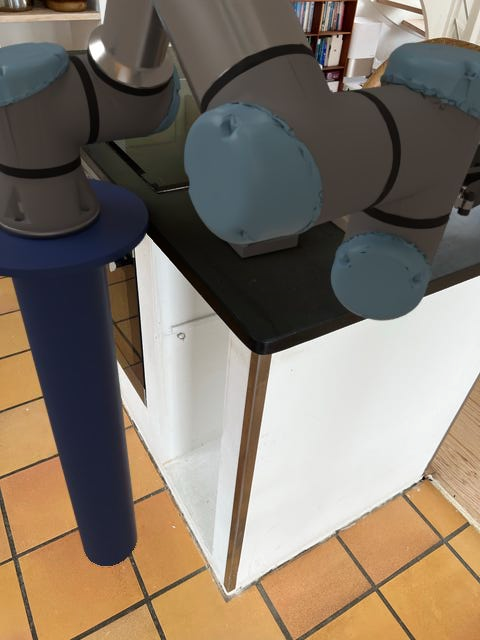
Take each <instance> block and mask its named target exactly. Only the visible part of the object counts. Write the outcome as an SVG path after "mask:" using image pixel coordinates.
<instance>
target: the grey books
mask: <svg viewBox="0 0 480 640" xmlns="http://www.w3.org/2000/svg"><path fill="white" fill-rule="evenodd" d="M299 235H300V234H292V235H289V236H281V237H277V238H272V239H268V240H264V241H259V242H254V243H249V244H234V243H230V242H227V243H228V244H229V246H230V247H231V248H232V249H233V250H234V252H236V253H237V254H238V255H239V257H241V258H242V259H244V258H249V257H253V256H258V255H264V254H267V253H273V252H277V251H281V250H286V249H290V248H294V247H297V246H298V243H299V237H300V236H299Z"/></svg>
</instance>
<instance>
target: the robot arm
mask: <svg viewBox="0 0 480 640" xmlns="http://www.w3.org/2000/svg"><path fill="white" fill-rule="evenodd" d="M169 47H171V49H172V51H173V53H174V55H175V57H176V60H177V62H178V65H179V67H180V69H181V71H182V74H183V76H184V78H185V80H186V81H185V82H186V83H187V85H188V87H189V91H190V92H191V95H192V97H193V99H194V101H195V104H196V107H197V109H198V111H199V113H200V115H199V117H198V118H197V119H195V121H194V122H193V123H192V125H191V126H190V128H189V131H188V133H187V136H186V140H185V144H184V150H183V151H184V154H183V155H184V156H183V165H184V166H183V167H184V173H185V174H186V176H187V178H188V182H189V188H188V195H189V199H190V200H191V202H192V205H193V207H194V210H195V211H196V213H197V215H198V217H199V218H200V219H201V221H202V222H203V224H204V225H205V226H206V228H207V229H208V230H209V231H211V233H213V234H214V235H215V236H216V237H218V238H219V239H221V240H222V241H225V242H226V243H228V242H230V243H234V244H249V243H254V242H259V241H264V240H268V239H272V238H277V237H281V236H289V235H292V234H298V235H300V234H302V233H305V232H306V231H308V230H309V229H311V228H313V227H316V226H318V225H322V224H325V223H328V222H331V220H334V219H337V218H340V217H343V216H346V215H349V214H350V216H349V220H348V225H347V229H346V232H345V231H344V235H343V239H342V242H341V244H340V245H339V246H338V247H337V249H336V250H335V255H334V259H333V264H332V266H331V271H330V283H331V288H332V290H333V293H334V295H335V297H336V298H337V300H338V301H339V303H340V304H341V305H342V306H343V307H344V308H345V309H346V310H348V311H349V312H350V313H353V314H354V315H357V316H359V317H361V318H364V319H367V320H372V321H379V322H383V321H384V322H385V321H392V320H396V319H399V318H402V317H405V316H407V315H408V314H409V313H411V312H413V311H414V310H415V309H416V308H418V306H419V305H420V304H421V302H422V301H423V298H424V297H425V294H426V291H427V289H428V287H429V283H430V281H431V280H432V276H433V271H432V266H433V263H434V260H435V256H436V254H437V252H438V249H439V247H440V245H441V241H442V239H443V236H444V234H445V231H446V230H447V229H446V228H447V227H448V224H449V222H450V217H451V214H452V211H453V209H456V210H457V211H456V213H457V214H458V215H459V216H461V217H468V216H469V215H470V213H471V211H472V209H474V208H476V207H478V206H480V51H478V50H474V49H471V48H466V47H461V46H456V45H451V44H444V43H435V42H434V43H433V42H416V41H415V42H405V43H403V44H401V45H399V46H398V47H396V48H395V49H394V50H393V51H392V52H390V54H389V56H388V59H387V62H386V66H385V69H384V71H383V73H382V74H381V75H380V77H379V82H380V85H379V86H371V87H365V88H357V89H347V90H341V91H332V90H331V88H330V86H329V84H328V81H327V79H326V76H325V74H324V72H323V69H322V67H321V65H320V63H319V61H318V60H317V58H316V55H315V53H314V51H313V48H312V46H311V44H310V42H309V39H308V38H307V34H306V32H305V30H304V27H303V26H302V23H301V22H300V19H299V15H298V14H297V12H296V10H295V8H294V5H293V3H292V1H291V0H106V2H105V9H104V16H103V22H102V23H101V24H99V25H97V26H96V27H95V28H93V30H92V31H91V32H90V35H89V37H88V41H87V49H86V53H85V54H73V55H69V53H68V52H67V50H66V48H65V47H64V46H63V45H61V44H58V43H55V42H48V41H47V42H46V41H44V42H43V41H42V42H37V43H36V42H22V43H15V44H11V45H6V46H1V47H0V229H1V230H2V231H4V232H5V233H7V234H9V235H12V236H15V237H18V238H23V239H30V240H53V239H60V238H65V237H69V236H73V235H76V234H79V233H81V232H83V231H85V230H87V229H89V228H90V227H92V226H93V225H94V224H95V223H96V222H97V221H98V219H99V217H100V208H99V203H98V199H97V197H96V194H95V192H94V190H93V188H92V186H91V184H90V182H89V180H88V178H89V177H88V176H87V173H86V172H85V169H84V167H83V163H82V158H81V157H82V156H81V147H82V146H86V145H93V144H101V143H108V142H117V141H123V140H124V141H125V140H130V139H132V140H133V139H139V138H147V137H151V136H153V135H156V134H160V133H163V132H165V131H167V130H168V129H169V128H170V127H171V126H172V125H173V124H174V122H175V121H176V118H177V116H178V114H179V111H180V107H181V97H182V96H181V95H180V93H179V91H180V90H181V89H182V87H181V80H180V75H179V71H178V68H177V66H176V65H175V63H174V58H173V56H172V54H171V51H170V50H169Z"/></svg>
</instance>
